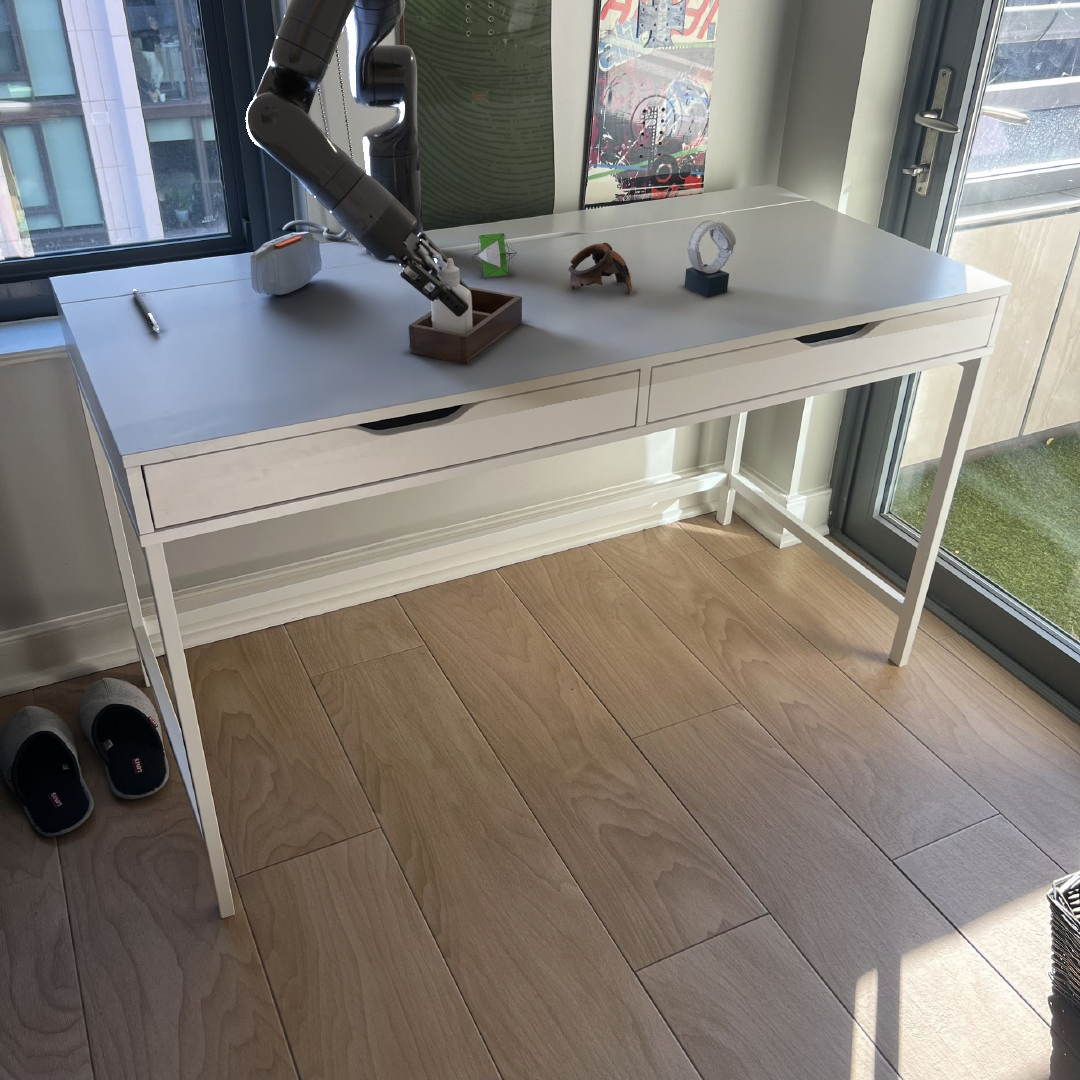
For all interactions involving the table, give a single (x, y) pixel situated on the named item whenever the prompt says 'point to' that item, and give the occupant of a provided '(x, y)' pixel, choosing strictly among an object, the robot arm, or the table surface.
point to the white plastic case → (285, 263)
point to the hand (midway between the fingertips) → (465, 303)
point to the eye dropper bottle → (442, 314)
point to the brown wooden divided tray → (489, 325)
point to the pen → (146, 310)
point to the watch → (710, 276)
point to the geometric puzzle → (493, 255)
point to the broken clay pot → (599, 267)
